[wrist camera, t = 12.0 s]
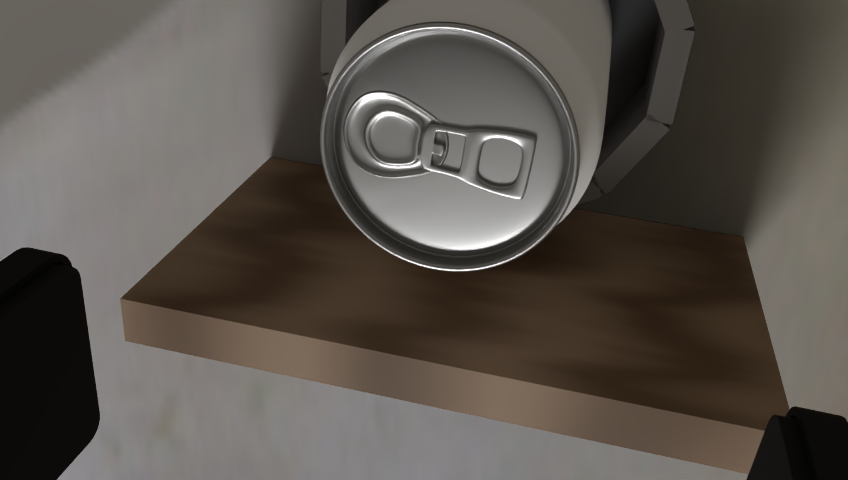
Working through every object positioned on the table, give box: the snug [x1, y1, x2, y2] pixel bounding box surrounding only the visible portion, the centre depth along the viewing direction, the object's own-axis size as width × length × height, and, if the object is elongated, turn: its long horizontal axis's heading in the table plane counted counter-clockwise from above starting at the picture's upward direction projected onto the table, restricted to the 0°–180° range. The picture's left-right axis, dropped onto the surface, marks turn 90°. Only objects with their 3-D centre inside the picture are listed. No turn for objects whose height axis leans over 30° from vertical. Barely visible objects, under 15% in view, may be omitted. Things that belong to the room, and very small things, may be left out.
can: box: [320, 0, 612, 272], centre depth 22 cm, size 6×6×12 cm
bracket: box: [120, 0, 789, 474], centre depth 26 cm, size 20×15×12 cm
